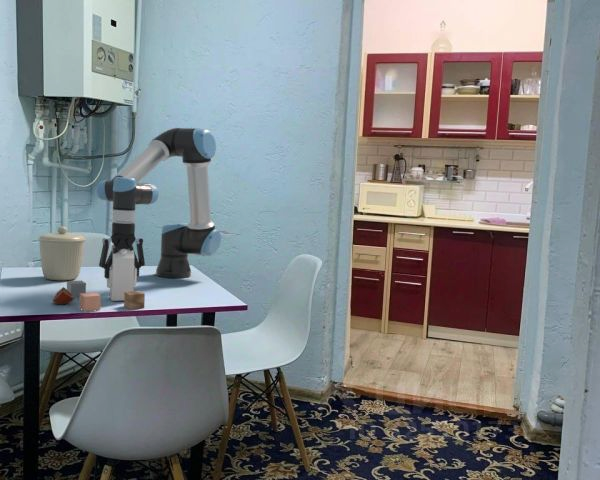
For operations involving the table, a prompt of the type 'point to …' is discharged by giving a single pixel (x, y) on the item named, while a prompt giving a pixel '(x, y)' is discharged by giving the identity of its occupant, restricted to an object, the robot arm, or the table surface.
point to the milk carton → (122, 273)
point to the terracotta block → (89, 301)
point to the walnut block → (134, 299)
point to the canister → (61, 254)
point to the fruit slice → (63, 296)
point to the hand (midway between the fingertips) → (121, 286)
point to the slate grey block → (76, 287)
